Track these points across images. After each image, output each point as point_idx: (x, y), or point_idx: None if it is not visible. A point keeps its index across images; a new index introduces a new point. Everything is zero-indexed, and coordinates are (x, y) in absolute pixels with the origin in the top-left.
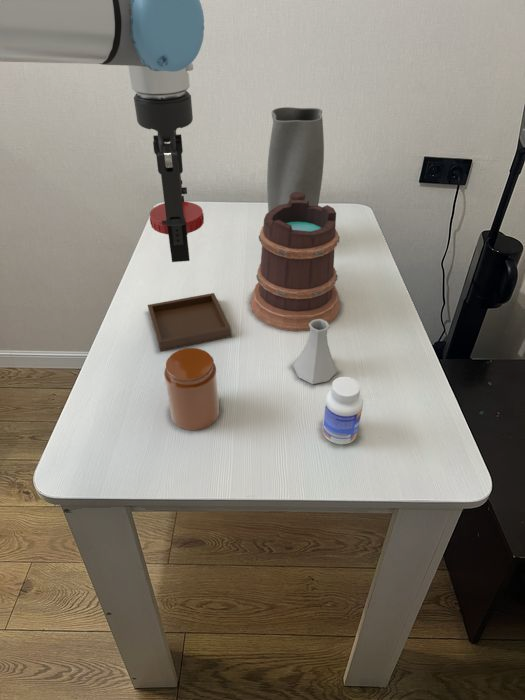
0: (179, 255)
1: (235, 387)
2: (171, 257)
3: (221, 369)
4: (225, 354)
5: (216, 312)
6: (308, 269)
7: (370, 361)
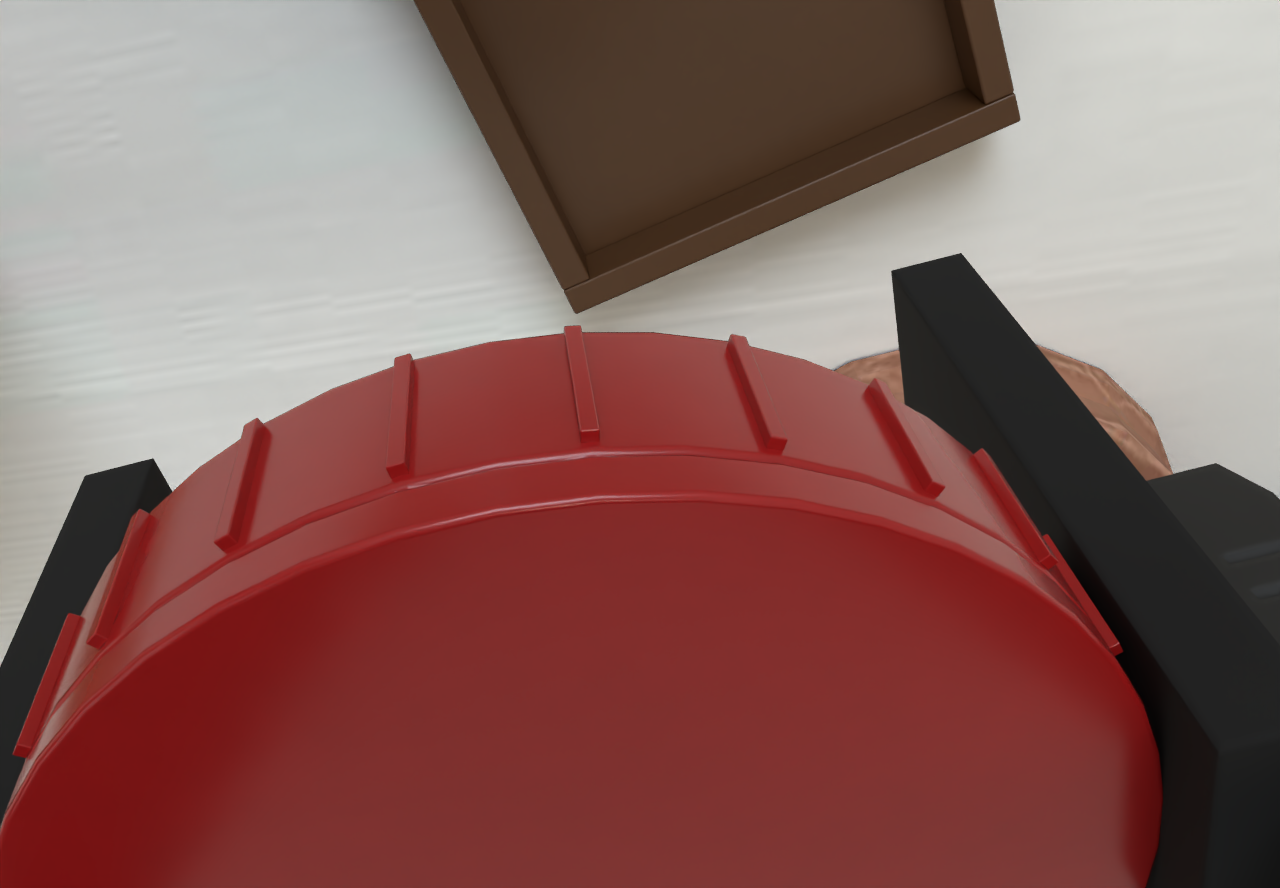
0: None
1: (93, 379)
2: (66, 522)
3: (229, 277)
4: (382, 275)
5: (822, 148)
6: None
7: None
